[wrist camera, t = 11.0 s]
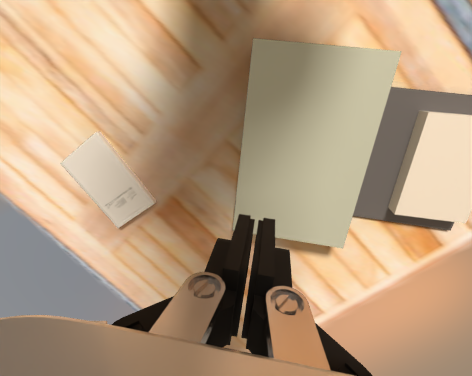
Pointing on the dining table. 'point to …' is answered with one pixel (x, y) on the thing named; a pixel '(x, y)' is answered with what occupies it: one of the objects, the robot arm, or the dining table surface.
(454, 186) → the cream flat block
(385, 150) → the mat
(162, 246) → the dining table surface
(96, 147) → the external hard drive
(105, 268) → the dining table surface
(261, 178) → the sage green block
